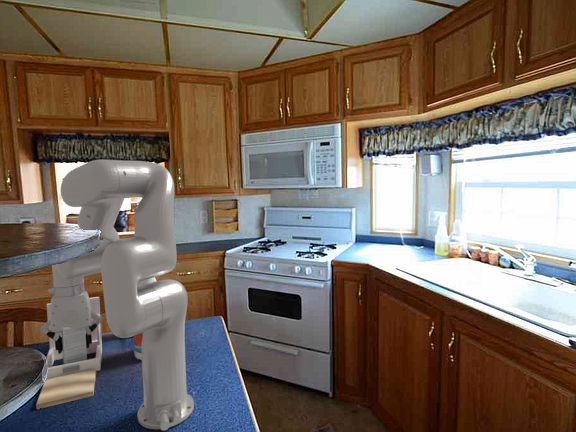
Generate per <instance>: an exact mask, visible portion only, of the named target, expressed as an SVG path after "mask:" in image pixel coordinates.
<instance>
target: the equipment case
mask: <svg viewBox="0 0 576 432" xmlns="http://www.w3.org/2000/svg"><path fill="white" fill-rule="evenodd" d="M89 300H90V305H91V311H92V312H94V313H95V314H97V315H99V316H100V317H101V307H100V306H101V305H100V296H95V297H89ZM50 305H51V302H50V303H47V304H46V314H47V315H46V316H47V322H48V321H49V320H50ZM95 321H96V320H95V319H93V318H92V322H91V325H90V326H92V324H93V323H95ZM101 324H102V322H101V323H100V324H99V325H98V326H97V327H96V329H95V330H94V331H93V332H92V333H91V335H92V343H91V344H90V345H89V348H86V351H87V355H89V354H93V353H95V357H94V358H89V359H88V358H87V360H84V361H79V362H74V363H69V364H64V363H63V364H60V365H54V361H56V360H57V361H58V360H63V350H62V353H60V354H58V350H56V349H55V341H54V340H53V339H52V338H50V337H48V340H49V341H48V342H49V350H48V353H47V355H46V358H45V360H47V365H48V373H47V378H46V379H51V378H55V377H60V376H65V375H69V374H74V373H79V372H83V371H88V370H93V369H96V372H98V371H101V365H102V353H103V342H102V325H101ZM48 329H49V330H51V325H50V326H49V327H48ZM55 333H56V332H55ZM85 335H86V331H85ZM60 336H61V337H62V332H61V333H60ZM53 365H54V366H53Z"/></svg>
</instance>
